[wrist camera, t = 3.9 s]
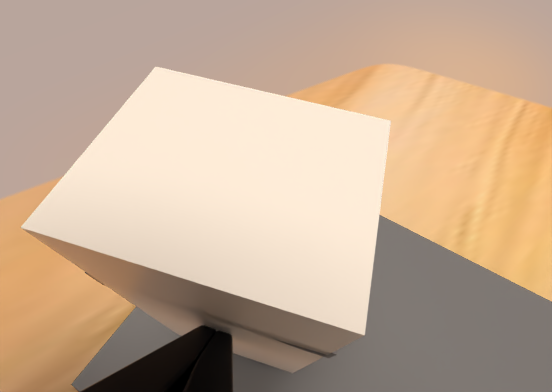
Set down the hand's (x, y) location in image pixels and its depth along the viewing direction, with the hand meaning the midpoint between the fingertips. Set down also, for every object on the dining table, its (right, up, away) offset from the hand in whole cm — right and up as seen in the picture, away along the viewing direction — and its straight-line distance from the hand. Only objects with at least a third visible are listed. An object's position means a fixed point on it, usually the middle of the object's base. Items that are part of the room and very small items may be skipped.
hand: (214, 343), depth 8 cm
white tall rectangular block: (0, -1, +6) cm, 6 cm away
